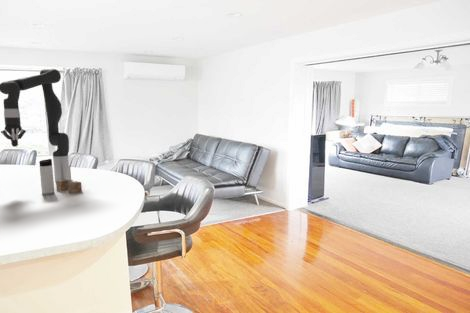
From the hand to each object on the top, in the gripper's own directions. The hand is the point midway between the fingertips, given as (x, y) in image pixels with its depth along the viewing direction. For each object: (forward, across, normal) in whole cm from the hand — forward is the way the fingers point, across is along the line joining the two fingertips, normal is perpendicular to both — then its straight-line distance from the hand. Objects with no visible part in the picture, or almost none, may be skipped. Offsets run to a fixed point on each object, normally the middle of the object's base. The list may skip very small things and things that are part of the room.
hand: (15, 146), depth 190 cm
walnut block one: (+27, +15, -32) cm, 45 cm away
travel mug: (+27, +5, -22) cm, 35 cm away
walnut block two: (+27, +15, -20) cm, 37 cm away
